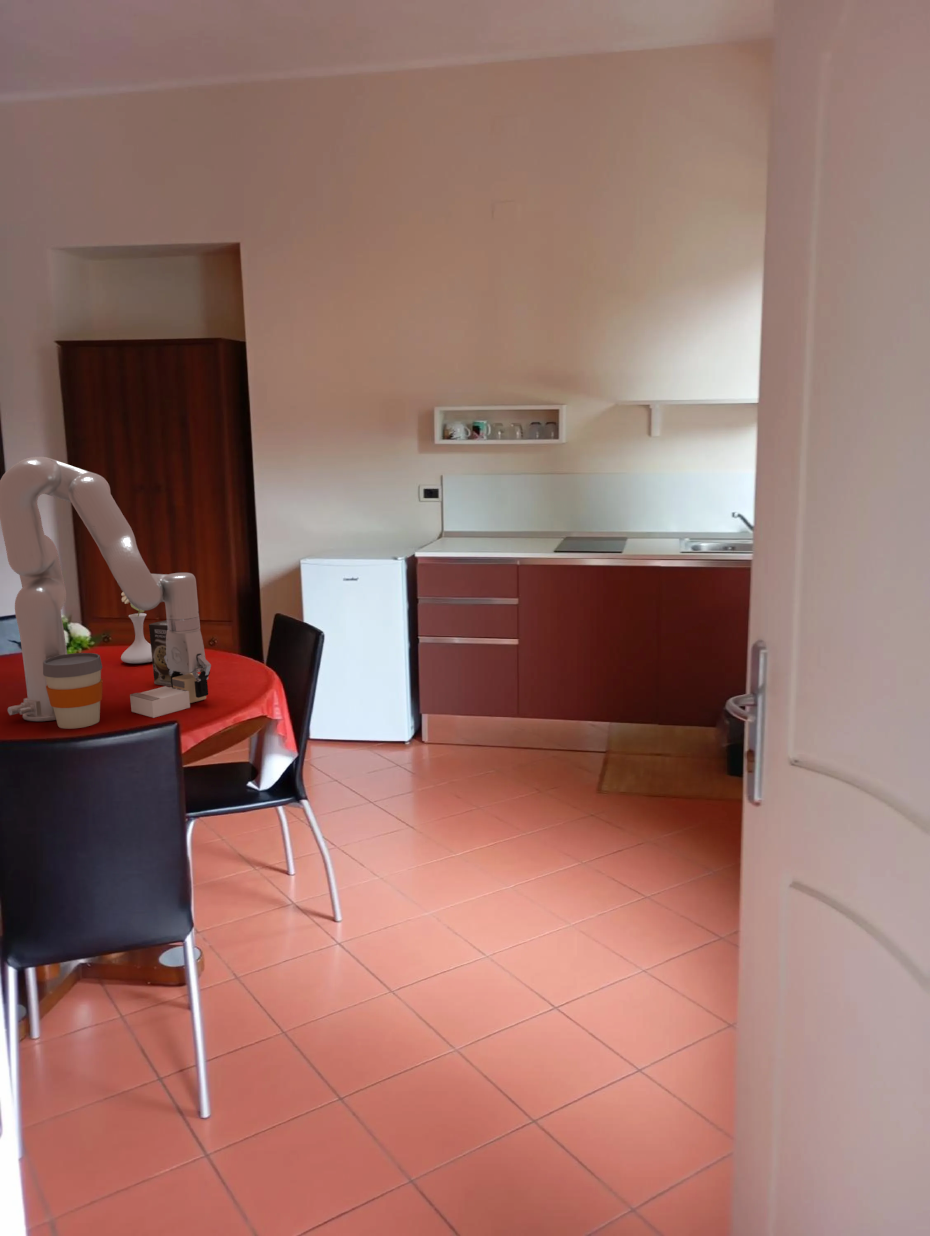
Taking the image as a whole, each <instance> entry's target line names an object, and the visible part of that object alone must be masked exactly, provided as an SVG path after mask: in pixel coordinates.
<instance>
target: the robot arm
mask: <svg viewBox="0 0 930 1236" xmlns="http://www.w3.org/2000/svg"><path fill="white" fill-rule="evenodd" d="M41 495H47V496H50V497H54V498H56V499H59V500H62V501H65V502H68V503H71V505H72V506H73V508H74V509H75V511H76V512H77V515H78V517H80V519H81V521H82V522H83V524H84V526H85V527H86V528H87V531H88V532H89V534H90V535H91V537H92V539H93V540H94V542H95V543H96V545H97V547H98V549H99V551H100V553H101V555H102V557H103V559H104V560H105V562H106V564H107V566H108V568H109V570H110V572H111V574H112V576H113V578H114V579H115V581H116V582H117V585H118V586H119V587H120V590H121V591H122V592H124V594H125V596H126V597H127V599H128V600H129V603H130V605H131V604H132V605H133V606H134V607H136V608H137V609H140V610H144V611H150V610H153V609H155V608H157V607H158V606H159V604H160V603H163V602H164V605H165V614H166V620H167V627H168V630H167V634H166V655H165V656H164V659H165V662H166V664H167V668H168V670H169V675H170V676H171V686H170V687H173V683H172V678H173V677H177V676H181V675H183V674H182V673H186V674H190V673H192V674H193V675H194V677H195V679H196V681H195V692H196V697H197V698H200V697H203V696H206V697H207V696H208V695H209V686H208V680H209V676H210V673H211V672H210V670H211V667H212V664H211V663H210V662H209V661H208V659H206V653H205V645H204V640H203V635H202V632H201V631H202V630H201V623H200V622H201V621H200V611H199V599H198V590H197V589H198V588H197V579H196V576H195V575H194V574H193V573H191V572H175V573H169V574H167V573H165V574H163V573H151V572H150V569H149V568H148V566H147V565H146V563H145V561H144V559H143V558H142V555H141V553H140V551H139V548H138V545H137V541H136V537H135V534H134V532H133V530H132V529H133V528H132V527H131V526H130V524H129V522H128V520H127V519H126V517H125V515H123V513H122V511H121V509H120V507H119V506H118V504H117V503H116V501H115V499H114V498H113V495H112V494H111V487H110V484H109V483H108V481H107V480H106V478H105V477H103V476H102V475H100V474H98V473H95V472H92V471H88V470H86V469H82V468H80V467H76V466H73V465H70V464H68V463H65V462H62V461H60V460H57V459H54V458H50V457H46V456H31V457H27V458H23V459H22V460H20V461H18V462H16V463H14V464H13V465H12V466H10V468H8V469H7V470H6V471H5V472H4V474H3V475H2V476H1V478H0V526H1V527H0V528H1V532H2V536H3V542H4V546H5V551H6V556H7V561H8V564H9V566H10V568H11V569H12V570H13V572H15V574H18V576H19V579H20V585H21V588H20V590H19V591H18V593H17V595H16V597H15V600H14V612H15V613H14V614H15V619H16V622H17V623H16V624H17V626H18V633H19V638H20V645H21V652H22V660H23V662H22V663H23V669H24V677H25V687H26V694H27V697H25V698H23V702H21V703H20V704H17V705H12V706H8V708H7V713H8V715H9V716H13V715H17V714H19V715H22V719H23V720H25V721H28V722H49V721H51V722H52V721H57V720H56V716H55V712H54V708H53V707H52V706H51V705H50V701H49V697H48V693H47V689H46V686H47V681H46V678H45V676H44V675H43V661H44V660H46V659H48V658H51V657H55V656H59V655H65V654H68V650H67V644H66V643H67V642H66V636H65V629H64V624H63V617H62V609H63V608H64V606H65V604H66V602H67V591H66V590H67V589H66V584H65V580H64V575H63V572H62V571H63V570H62V566H61V561H60V557H59V553H58V550H57V546H56V545H55V543H54V541H53V540H52V539H51V538H50V537H49V536H48V535H46V534H45V531H44V527H43V522H42V517H41V512H40V510H39V506H38V499H39V497H40V496H41ZM180 673H181V674H180ZM199 674H200V675H199Z"/></svg>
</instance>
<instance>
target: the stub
mask: <svg viewBox="0 0 930 1236" xmlns="http://www.w3.org/2000/svg"><path fill="white" fill-rule="evenodd" d="M198 674H199V675H200V673H198ZM195 681H196V679H195V677H194V675H193V674H192V673H190V674H185V675H181V676H177V677H173V678H172V683H173V687H174V688H177V689H182V690H187V691H189V700H190V704H193V703H195V702H200V701H203V700H206V699H207V696H203V697H200V698H197V697H196V692H195Z"/></svg>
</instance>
